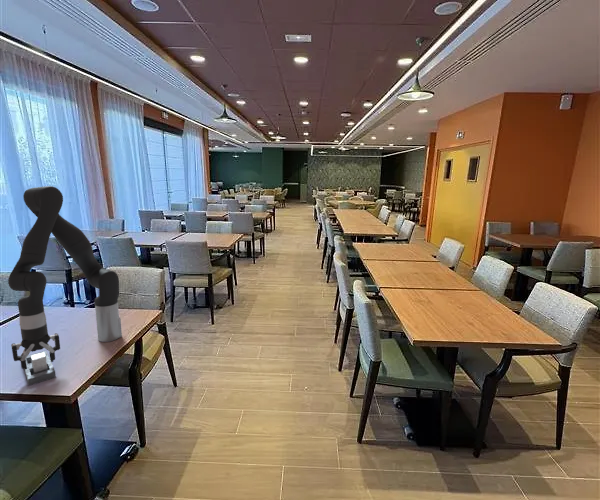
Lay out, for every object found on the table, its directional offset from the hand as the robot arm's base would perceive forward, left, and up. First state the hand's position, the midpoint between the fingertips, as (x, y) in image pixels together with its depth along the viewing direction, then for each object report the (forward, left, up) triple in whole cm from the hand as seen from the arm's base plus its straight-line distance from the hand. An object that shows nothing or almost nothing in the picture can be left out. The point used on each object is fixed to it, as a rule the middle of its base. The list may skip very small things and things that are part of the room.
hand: (39, 364), depth 124 cm
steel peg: (0, 0, -4) cm, 4 cm away
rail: (0, -5, -4) cm, 7 cm away
